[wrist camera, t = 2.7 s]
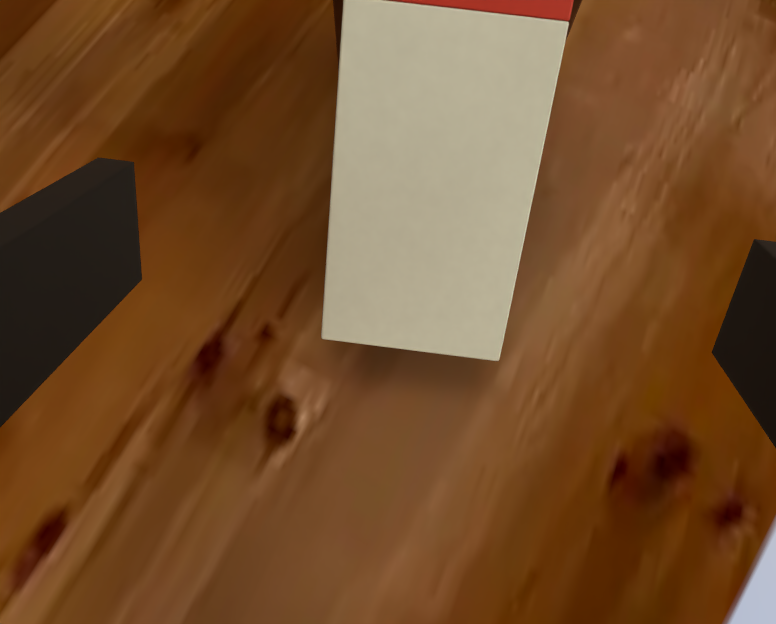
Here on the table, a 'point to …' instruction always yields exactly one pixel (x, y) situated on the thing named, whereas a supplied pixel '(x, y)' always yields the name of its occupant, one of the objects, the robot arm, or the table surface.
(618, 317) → the table surface
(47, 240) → the robot arm
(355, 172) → the red-faced cream slab
